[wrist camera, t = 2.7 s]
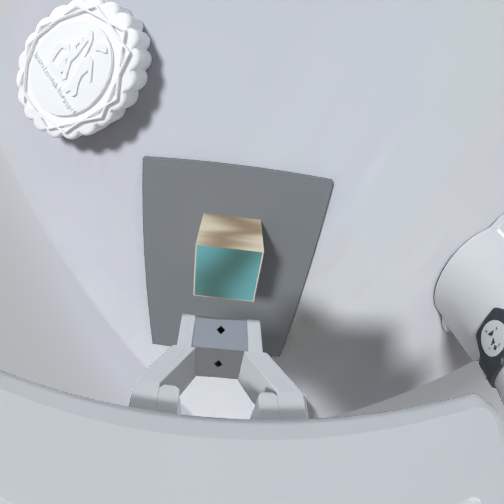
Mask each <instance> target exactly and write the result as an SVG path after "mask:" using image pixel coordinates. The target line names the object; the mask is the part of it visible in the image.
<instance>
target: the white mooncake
mask: <svg viewBox="0 0 504 504" xmlns="http://www.w3.org/2000/svg"><path fill="white" fill-rule="evenodd" d="M142 31H143V22H142V21H141V20H140V19H139V18H137V17H134V16H132V13H131V11H130V10H129V9H128V8H126V7H124V6H122V5H119V4H117V3H115V2H109V1H107V0H73V1H72V2H70V3H69V4H68V6H66V5H62V6H59V7H57V8H56V9H54V10H53V12H52V13H51V15H50V17H46V18H44V19H42V20H41V21H40V22H39V23H38V25H37V27H36V31H35V32H34V33H32V34H31V35H30V36H29V37H28V39H27V41H26V44H25V51H24V52H23V53H22V54H21V56H20V58H19V68H20V70H19V72H18V74H17V78H16V82H17V85H18V87H19V88H20V90H19V93H18V98H19V101H20V103H21V104H22V105H24V106H25V107H24V111H25V115H26V117H27V118H28V119H30V120H34V124H35V126H36V128H37V129H38V130H40V131H46V130H47V132H48V133H49V135H50V136H52V137H54V138H59V137H61V136H64V137H65V138H67V139H71V140H72V139H76V138H78V137H80V136H82V135H85V136H88V135H92V134H94V133H96V132H98V131H100V130H102V129H104V128H105V127H107V126H108V125H109V124H110V123H112V122H114V121H116V120H119V119H120V118H122V117H123V115H124V114H125V111H126V108H128V107H130V106H132V105H134V104H135V103H136V101H137V100H138V96H139V92H138V90H140V89H142V88H143V87H144V86H145V84H146V83H147V79H148V75H147V72H146V70H147V69H148V68H149V66H150V64H151V61H152V57H151V54H150V53H149V52H148V51H147V49H148V48H149V46H150V38H149V36H148V35H147V34H146V33H145V32H142Z"/></svg>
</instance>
